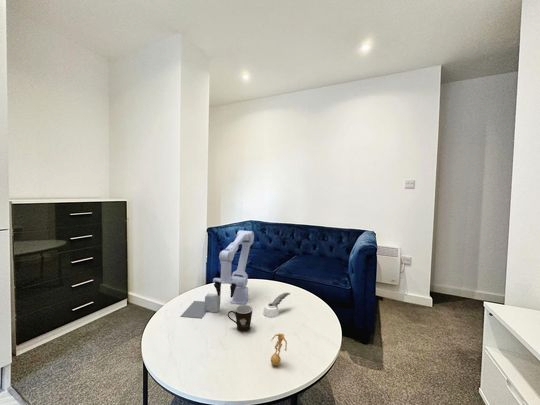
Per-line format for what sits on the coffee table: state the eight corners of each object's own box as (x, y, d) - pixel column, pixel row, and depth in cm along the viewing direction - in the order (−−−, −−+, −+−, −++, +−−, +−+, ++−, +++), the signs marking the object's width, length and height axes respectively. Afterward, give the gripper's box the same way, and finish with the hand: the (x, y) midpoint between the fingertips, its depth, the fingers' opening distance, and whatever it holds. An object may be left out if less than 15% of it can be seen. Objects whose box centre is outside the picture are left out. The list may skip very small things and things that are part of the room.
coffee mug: (255, 326, 120) (255, 307, 120) (246, 335, 113) (247, 315, 112) (235, 320, 125) (236, 302, 125) (226, 328, 117) (226, 309, 117)
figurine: (264, 361, 96) (265, 332, 95) (275, 354, 100) (276, 326, 100) (279, 373, 90) (280, 342, 89) (290, 365, 94) (291, 336, 93)
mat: (213, 302, 144) (213, 302, 144) (201, 318, 126) (201, 317, 126) (194, 301, 145) (194, 300, 145) (180, 316, 127) (180, 316, 127)
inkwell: (260, 312, 135) (260, 294, 134) (284, 304, 145) (285, 288, 144) (269, 319, 127) (269, 301, 127) (294, 310, 137) (295, 293, 137)
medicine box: (220, 309, 137) (221, 294, 136) (217, 313, 132) (218, 297, 132) (206, 307, 137) (207, 292, 137) (204, 311, 133) (204, 296, 133)
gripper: (210, 273, 129) (210, 297, 129) (235, 275, 126) (235, 300, 126) (216, 269, 136) (215, 292, 136) (240, 271, 133) (239, 295, 133)
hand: (225, 296), depth 132 cm, fingers open, 7 cm apart
